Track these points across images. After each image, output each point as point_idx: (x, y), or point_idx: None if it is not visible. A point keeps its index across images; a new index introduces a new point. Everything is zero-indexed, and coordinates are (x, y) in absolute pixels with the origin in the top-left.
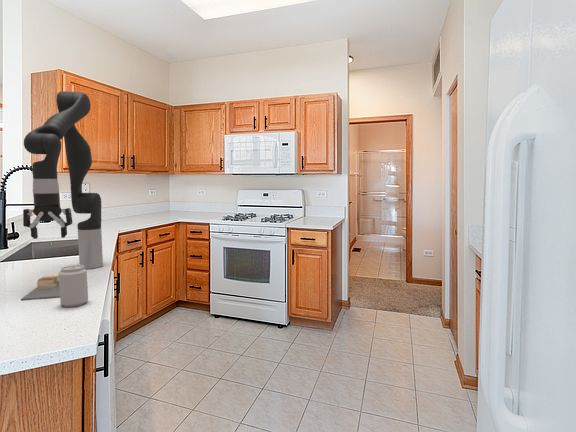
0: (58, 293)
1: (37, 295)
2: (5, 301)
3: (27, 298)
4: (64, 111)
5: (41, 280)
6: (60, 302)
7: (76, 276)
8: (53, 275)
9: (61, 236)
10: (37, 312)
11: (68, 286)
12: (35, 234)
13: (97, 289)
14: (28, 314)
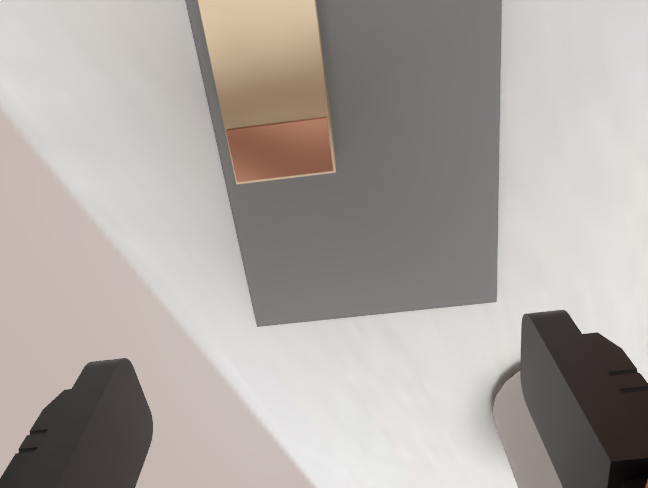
0: (419, 263)
1: (314, 283)
2: (186, 325)
3: (287, 322)
4: None
5: (263, 177)
6: (496, 427)
7: None
8: (273, 13)
9: (531, 407)
10: (422, 465)
11: None
12: (131, 478)
13: (628, 180)
14: (396, 479)
